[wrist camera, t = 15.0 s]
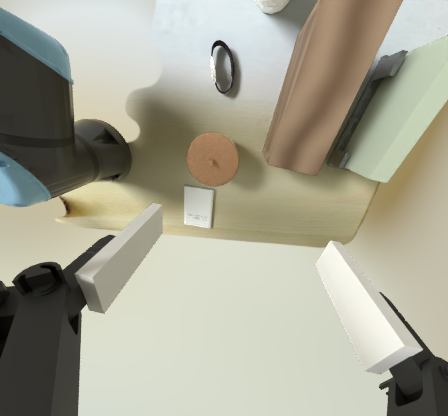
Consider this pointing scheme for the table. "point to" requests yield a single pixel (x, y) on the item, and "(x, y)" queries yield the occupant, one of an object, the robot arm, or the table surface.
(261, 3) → the white cup
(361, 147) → the door panel
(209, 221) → the external hard drive
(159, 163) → the table surface
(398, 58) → the clip rail
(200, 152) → the lidded jar
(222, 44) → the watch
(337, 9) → the cabinet
